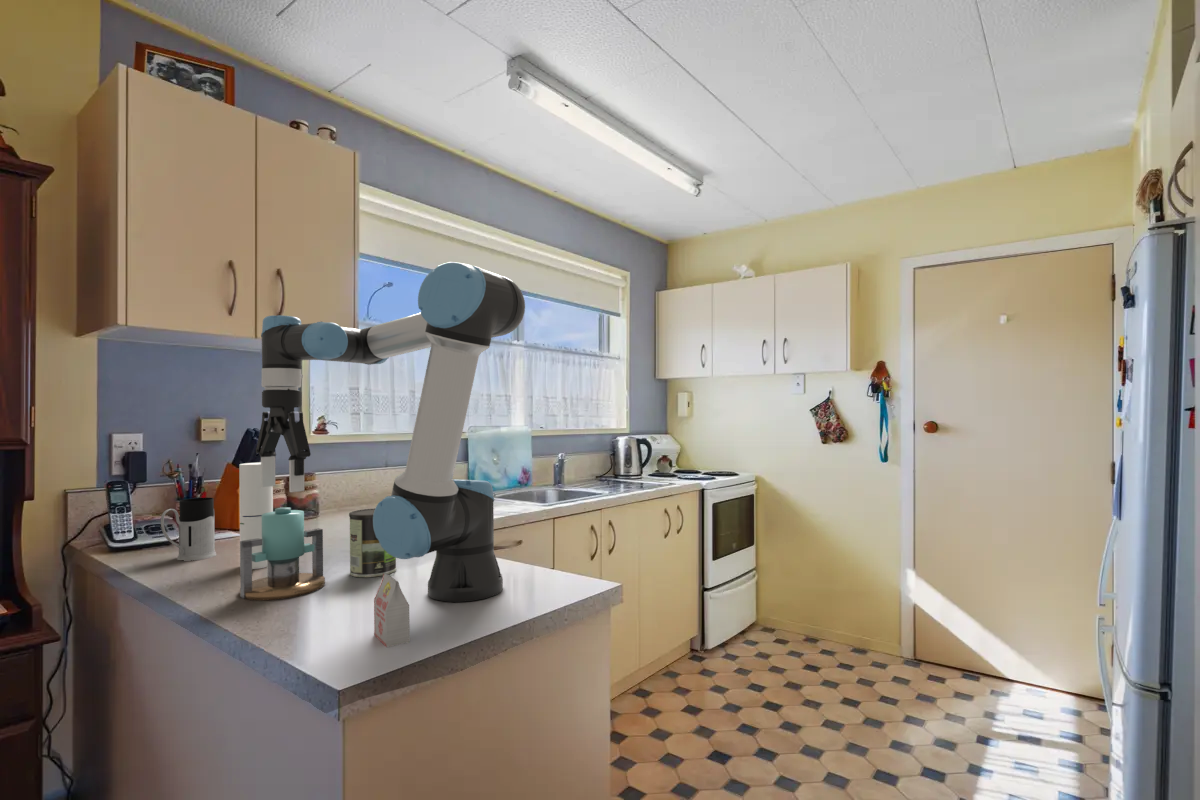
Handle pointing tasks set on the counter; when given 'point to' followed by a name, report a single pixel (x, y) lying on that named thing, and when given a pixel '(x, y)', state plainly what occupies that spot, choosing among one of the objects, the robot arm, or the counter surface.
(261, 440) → the robot arm
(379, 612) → the milk carton
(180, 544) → the white and black mug
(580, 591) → the counter surface
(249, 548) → the post fixture
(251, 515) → the cylindrical container
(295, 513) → the teal plastic cylinder
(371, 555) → the coffee can
